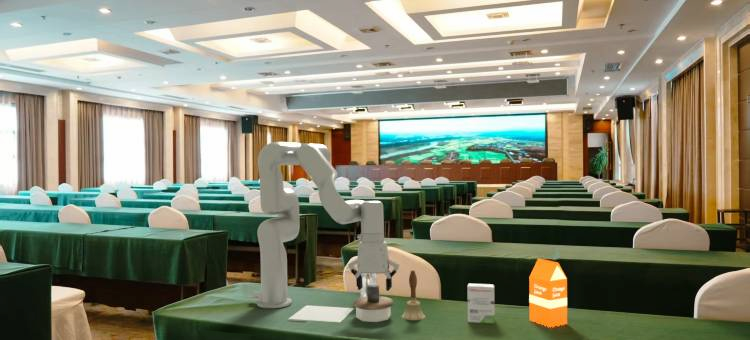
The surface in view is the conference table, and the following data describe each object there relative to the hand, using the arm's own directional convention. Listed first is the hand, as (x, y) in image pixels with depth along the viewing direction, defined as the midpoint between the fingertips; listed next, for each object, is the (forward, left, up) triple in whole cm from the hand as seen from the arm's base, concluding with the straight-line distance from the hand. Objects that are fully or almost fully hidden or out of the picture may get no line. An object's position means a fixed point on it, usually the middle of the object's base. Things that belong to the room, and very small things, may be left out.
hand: (374, 289), depth 171 cm
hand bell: (+13, +3, -10) cm, 16 cm away
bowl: (0, 0, -10) cm, 10 cm away
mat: (-18, 0, -10) cm, 21 cm away
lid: (0, 0, -5) cm, 5 cm away
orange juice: (+56, +8, -10) cm, 57 cm away
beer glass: (-7, +19, -10) cm, 23 cm away
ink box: (+35, +5, -10) cm, 36 cm away
